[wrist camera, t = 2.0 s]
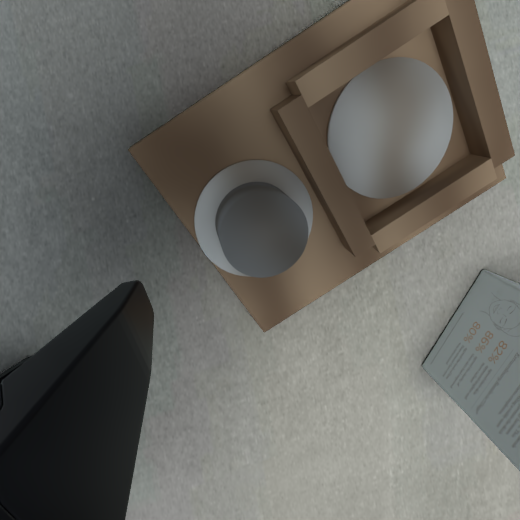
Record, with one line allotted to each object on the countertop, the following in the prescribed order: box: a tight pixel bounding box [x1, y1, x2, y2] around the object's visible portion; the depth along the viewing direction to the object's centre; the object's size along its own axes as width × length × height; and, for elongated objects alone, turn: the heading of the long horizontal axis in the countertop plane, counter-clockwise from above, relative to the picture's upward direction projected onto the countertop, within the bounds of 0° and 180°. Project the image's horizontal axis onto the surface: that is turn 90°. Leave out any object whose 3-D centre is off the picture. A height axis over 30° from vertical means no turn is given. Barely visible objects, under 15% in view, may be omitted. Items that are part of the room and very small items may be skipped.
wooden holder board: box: [128, 0, 515, 332], centre depth 19 cm, size 16×12×4 cm
